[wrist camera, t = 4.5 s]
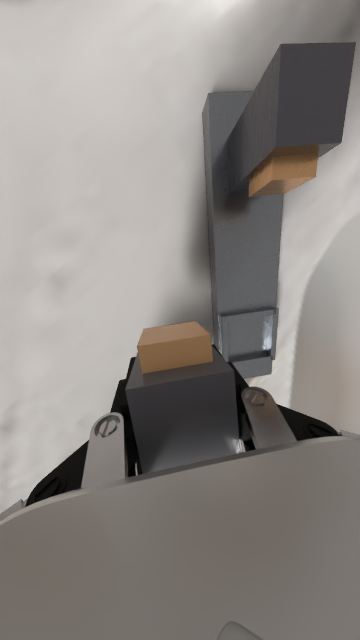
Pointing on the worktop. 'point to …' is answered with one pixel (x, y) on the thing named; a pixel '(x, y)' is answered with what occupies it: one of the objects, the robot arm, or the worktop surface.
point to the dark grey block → (181, 398)
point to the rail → (264, 185)
